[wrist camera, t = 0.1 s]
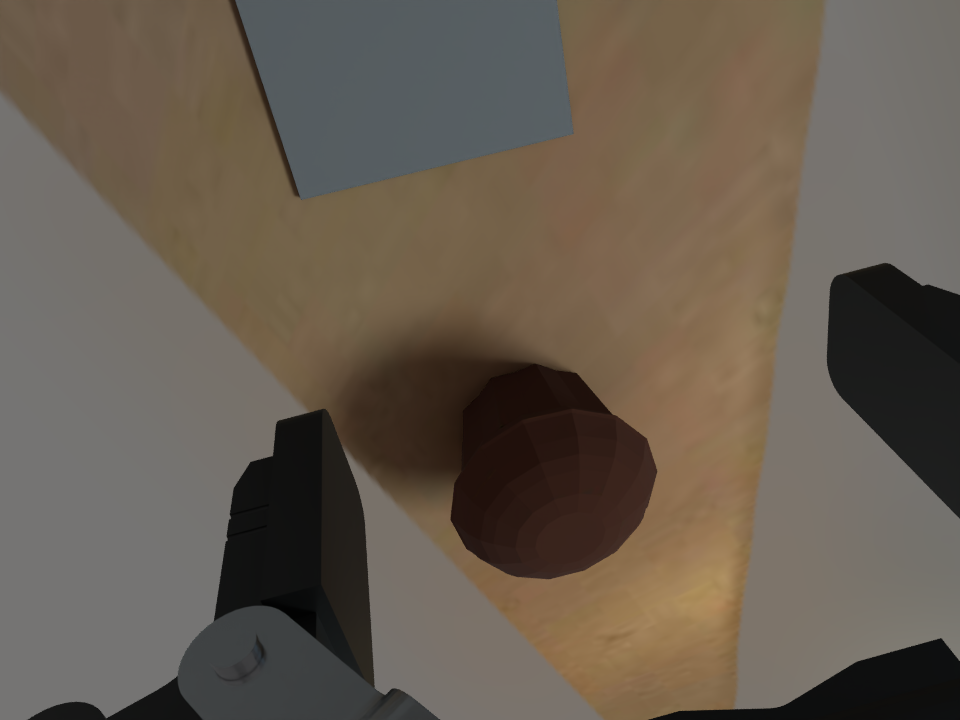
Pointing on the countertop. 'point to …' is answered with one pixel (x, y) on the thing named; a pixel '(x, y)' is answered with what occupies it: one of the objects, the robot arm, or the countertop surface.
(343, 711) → the robot arm
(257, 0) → the mat
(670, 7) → the countertop surface
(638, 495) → the muffin
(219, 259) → the countertop surface
